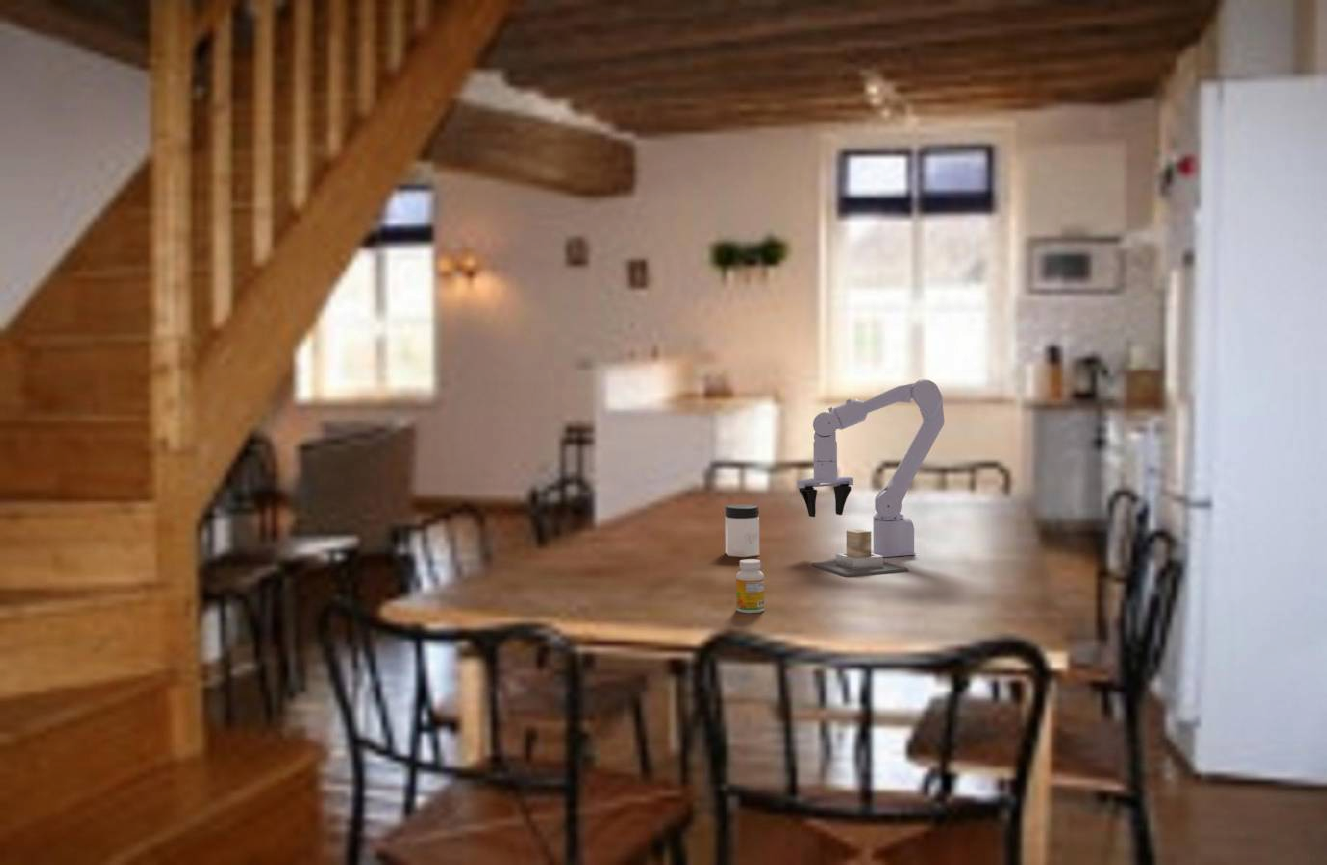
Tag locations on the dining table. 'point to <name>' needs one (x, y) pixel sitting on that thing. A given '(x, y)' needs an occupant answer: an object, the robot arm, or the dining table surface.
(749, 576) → the supplement bottle
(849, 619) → the dining table surface
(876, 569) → the mat
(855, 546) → the beige block
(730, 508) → the jar
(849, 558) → the socket
